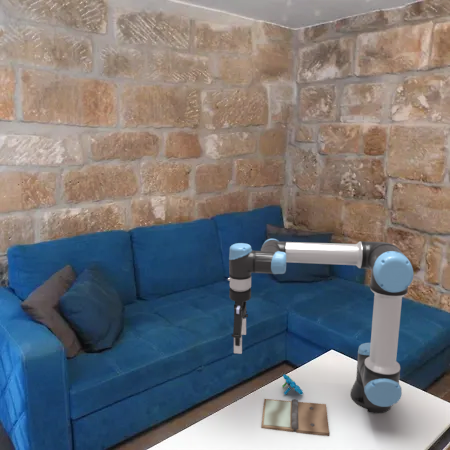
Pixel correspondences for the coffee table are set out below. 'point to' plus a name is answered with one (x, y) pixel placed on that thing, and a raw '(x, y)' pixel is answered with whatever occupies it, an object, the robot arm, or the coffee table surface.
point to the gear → (291, 385)
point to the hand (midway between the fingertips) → (240, 343)
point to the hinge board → (295, 417)
